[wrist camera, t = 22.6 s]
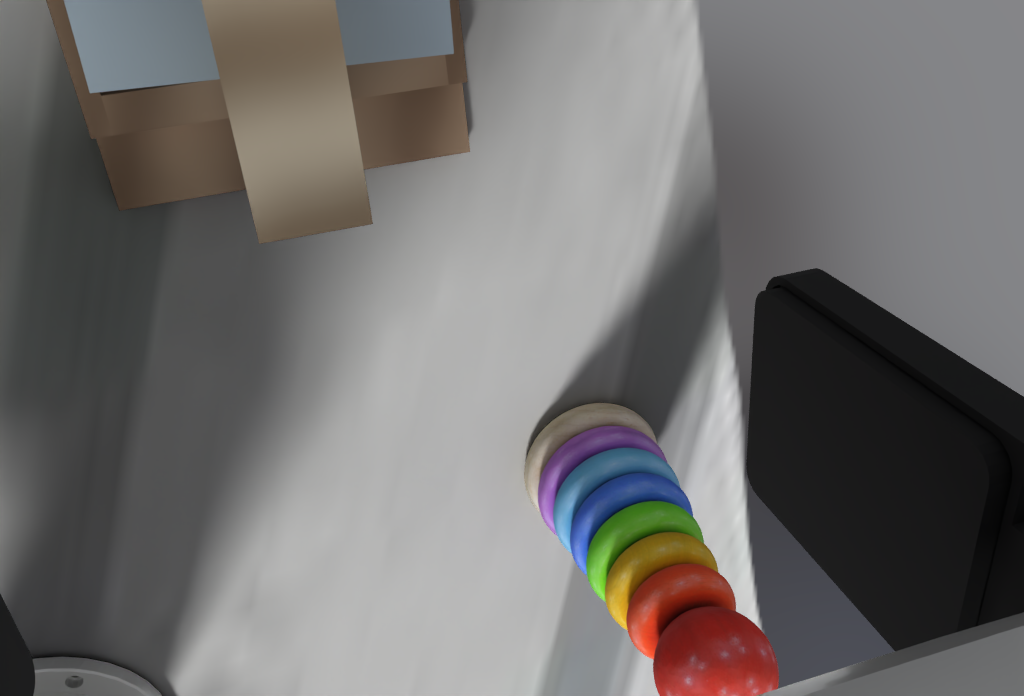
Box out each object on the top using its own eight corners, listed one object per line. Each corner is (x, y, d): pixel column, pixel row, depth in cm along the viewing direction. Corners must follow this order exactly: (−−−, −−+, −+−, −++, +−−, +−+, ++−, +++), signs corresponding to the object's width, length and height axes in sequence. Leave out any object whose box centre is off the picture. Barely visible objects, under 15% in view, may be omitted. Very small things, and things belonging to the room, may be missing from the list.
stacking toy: (646, 381, 49) (850, 616, 33) (651, 492, 53) (836, 751, 37) (512, 416, 47) (658, 680, 31) (527, 528, 51) (664, 814, 35)
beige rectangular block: (160, -204, 25) (147, -224, 21) (284, -213, 26) (295, -233, 22) (254, 195, 31) (259, 244, 27) (353, 179, 32) (372, 223, 27)
